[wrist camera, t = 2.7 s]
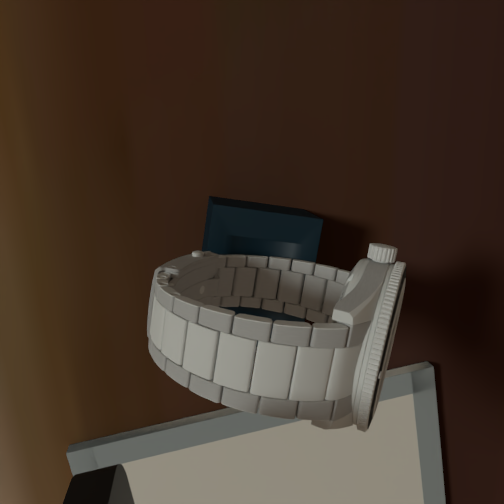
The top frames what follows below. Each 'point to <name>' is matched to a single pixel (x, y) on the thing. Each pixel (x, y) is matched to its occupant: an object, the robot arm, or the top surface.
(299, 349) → the watch
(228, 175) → the top surface
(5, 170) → the top surface
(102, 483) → the robot arm
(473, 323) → the top surface
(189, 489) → the mat
